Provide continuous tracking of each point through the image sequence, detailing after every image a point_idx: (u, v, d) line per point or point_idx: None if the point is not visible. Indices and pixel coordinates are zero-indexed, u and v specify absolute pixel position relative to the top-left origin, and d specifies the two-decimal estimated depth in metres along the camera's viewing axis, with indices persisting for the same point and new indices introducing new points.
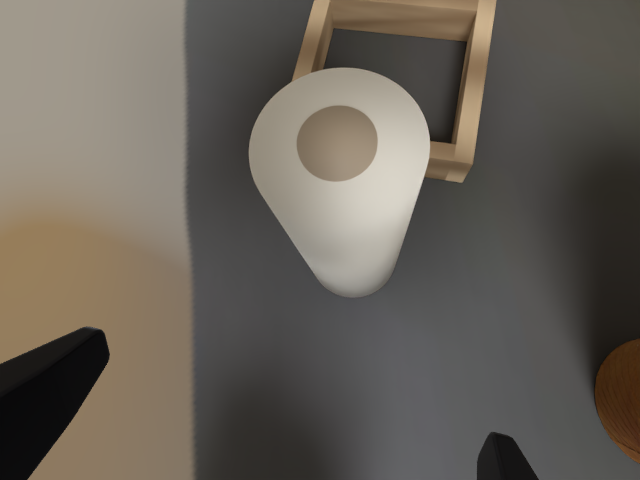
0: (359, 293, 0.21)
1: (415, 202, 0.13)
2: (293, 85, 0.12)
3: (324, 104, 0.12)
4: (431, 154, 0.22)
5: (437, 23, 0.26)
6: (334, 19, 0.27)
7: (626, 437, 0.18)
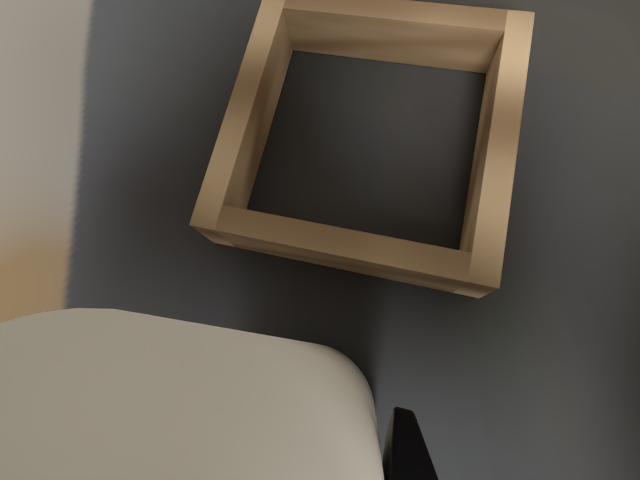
0: None
1: None
2: None
3: (21, 466, 0.03)
4: (431, 268, 0.14)
5: (442, 47, 0.17)
6: (292, 38, 0.19)
7: None
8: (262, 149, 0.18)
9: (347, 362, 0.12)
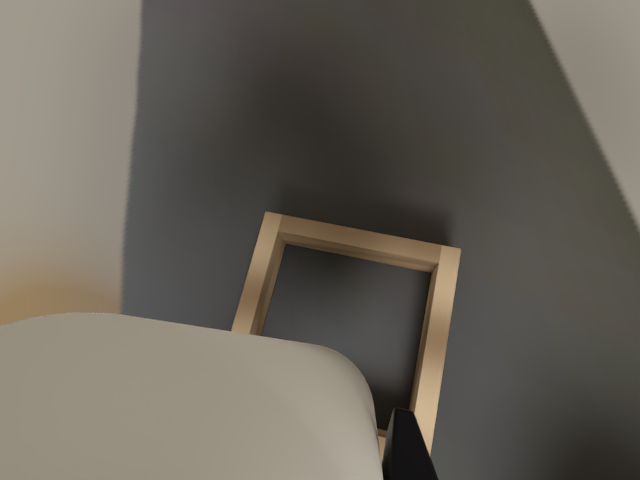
0: None
1: None
2: None
3: (17, 473, 0.03)
4: (380, 455, 0.19)
5: (397, 260, 0.23)
6: (285, 240, 0.25)
7: None
8: (261, 329, 0.24)
9: (347, 363, 0.12)
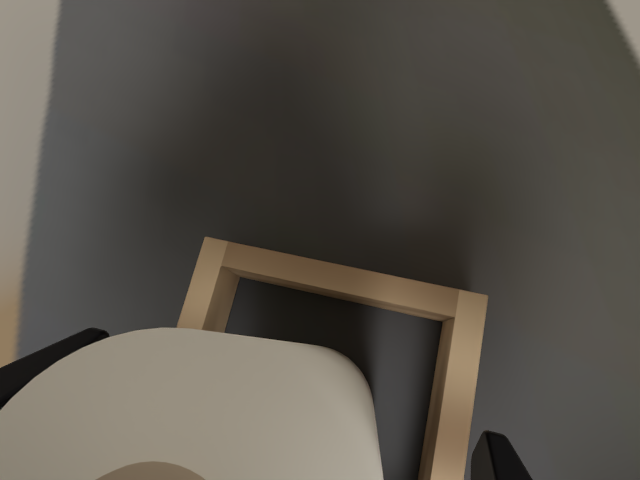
0: None
1: None
2: (62, 371, 0.05)
3: (129, 438, 0.04)
4: None
5: (393, 307, 0.16)
6: (237, 274, 0.18)
7: None
8: None
9: (349, 363, 0.14)
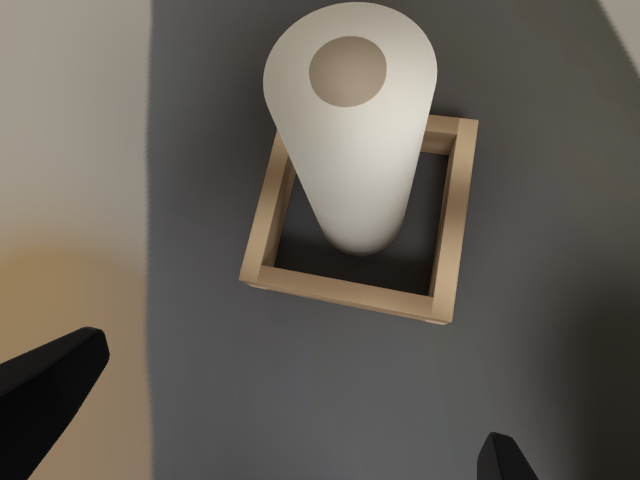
0: (368, 249, 0.22)
1: (423, 135, 0.13)
2: (304, 20, 0.12)
3: (334, 37, 0.12)
4: (406, 308, 0.20)
5: None
6: None
7: None
8: (285, 215, 0.25)
9: None
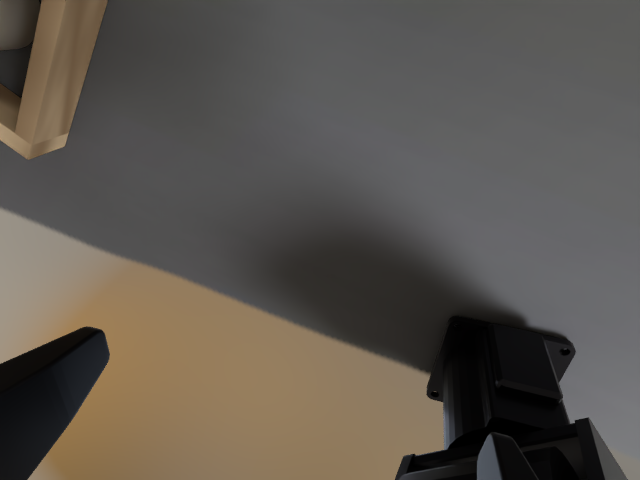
0: (13, 7, 0.19)
1: None
2: None
3: None
4: None
5: None
6: None
7: None
8: None
9: None
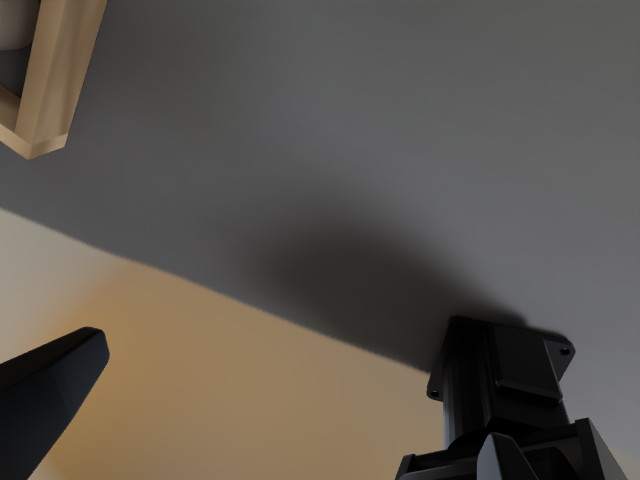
0: (13, 7, 0.19)
1: None
2: None
3: None
4: None
5: None
6: None
7: None
8: None
9: None
